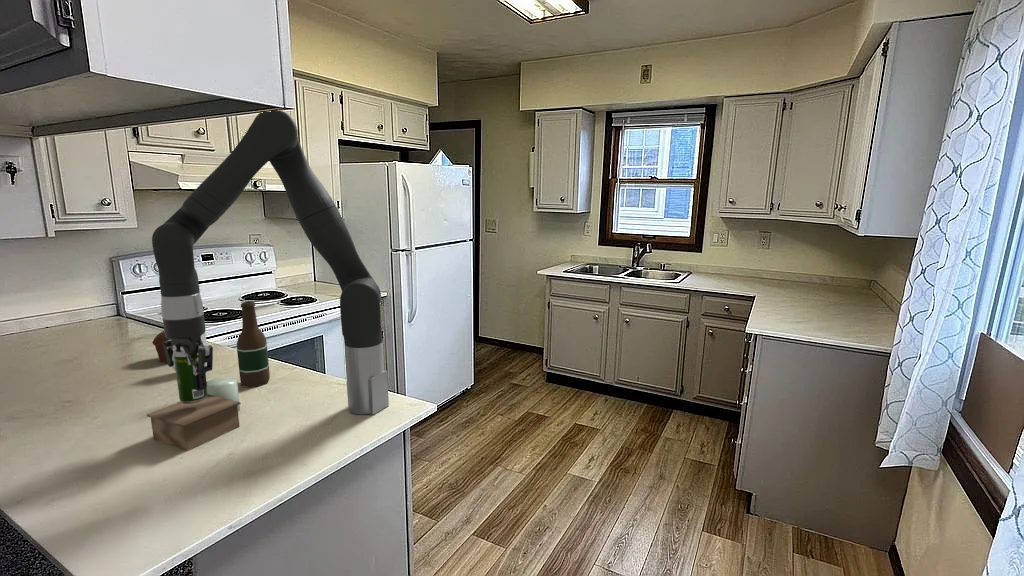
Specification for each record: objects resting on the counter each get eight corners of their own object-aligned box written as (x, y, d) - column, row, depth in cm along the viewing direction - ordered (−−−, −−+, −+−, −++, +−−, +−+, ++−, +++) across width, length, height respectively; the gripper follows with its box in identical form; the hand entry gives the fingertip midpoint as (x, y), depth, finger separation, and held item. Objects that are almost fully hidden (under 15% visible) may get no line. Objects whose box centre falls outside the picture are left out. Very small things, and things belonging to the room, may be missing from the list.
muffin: (147, 365, 157) (142, 335, 155) (166, 354, 167) (162, 326, 166) (186, 363, 158) (182, 333, 156) (203, 353, 169) (200, 325, 167)
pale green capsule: (246, 408, 124) (243, 379, 123) (220, 420, 118) (216, 389, 117) (227, 404, 127) (224, 375, 126) (201, 414, 121) (197, 384, 119)
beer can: (213, 397, 112) (207, 346, 109) (190, 406, 107) (183, 353, 105) (198, 393, 114) (191, 344, 112) (174, 402, 109) (167, 350, 107)
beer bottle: (243, 390, 136) (235, 306, 132) (238, 382, 142) (229, 301, 138) (273, 383, 141) (266, 302, 137) (266, 375, 147) (259, 298, 143)
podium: (242, 426, 115) (240, 402, 114) (187, 452, 103) (184, 425, 102) (206, 416, 120) (203, 393, 119) (149, 439, 108) (146, 414, 107)
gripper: (221, 313, 107) (229, 386, 110) (180, 307, 113) (188, 377, 116) (187, 321, 100) (196, 398, 103) (144, 314, 106) (155, 388, 109)
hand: (192, 387), depth 110 cm, fingers closed on beer can, 5 cm apart
